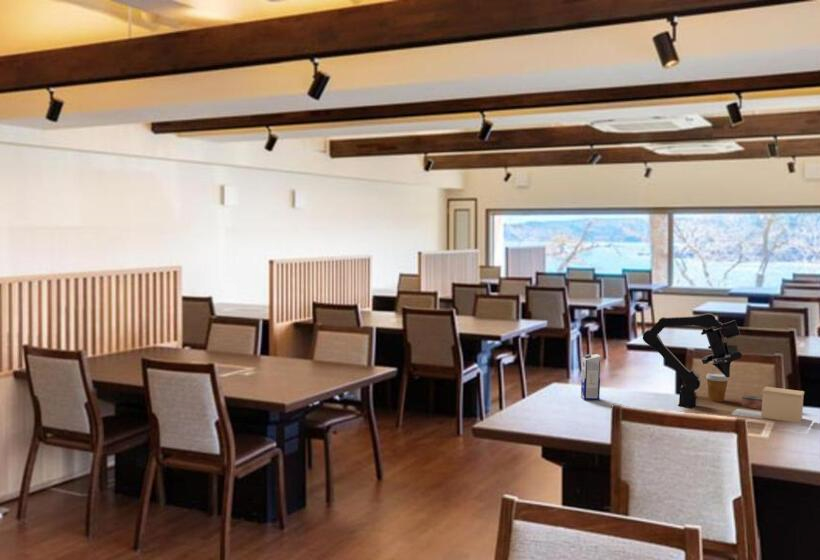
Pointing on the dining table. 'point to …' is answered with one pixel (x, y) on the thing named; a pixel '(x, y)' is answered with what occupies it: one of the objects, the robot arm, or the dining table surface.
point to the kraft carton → (782, 404)
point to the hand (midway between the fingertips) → (728, 377)
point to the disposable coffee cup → (716, 386)
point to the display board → (747, 413)
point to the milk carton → (590, 377)
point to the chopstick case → (752, 402)
